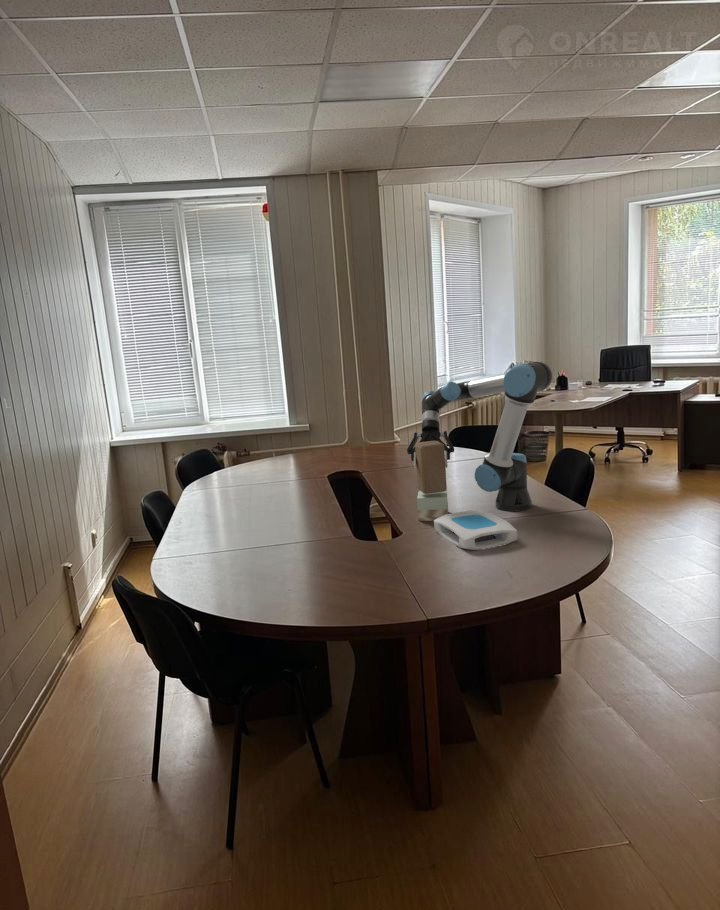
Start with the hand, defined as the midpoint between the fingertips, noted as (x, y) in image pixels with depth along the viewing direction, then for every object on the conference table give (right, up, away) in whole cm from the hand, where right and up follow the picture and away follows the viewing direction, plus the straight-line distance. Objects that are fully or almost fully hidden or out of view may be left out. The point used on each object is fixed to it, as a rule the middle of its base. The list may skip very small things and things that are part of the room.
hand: (430, 466), depth 271 cm
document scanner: (+14, -26, -22) cm, 37 cm away
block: (+1, -10, +3) cm, 11 cm away
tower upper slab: (+2, -16, +6) cm, 18 cm away
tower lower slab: (+2, -21, +7) cm, 23 cm away
